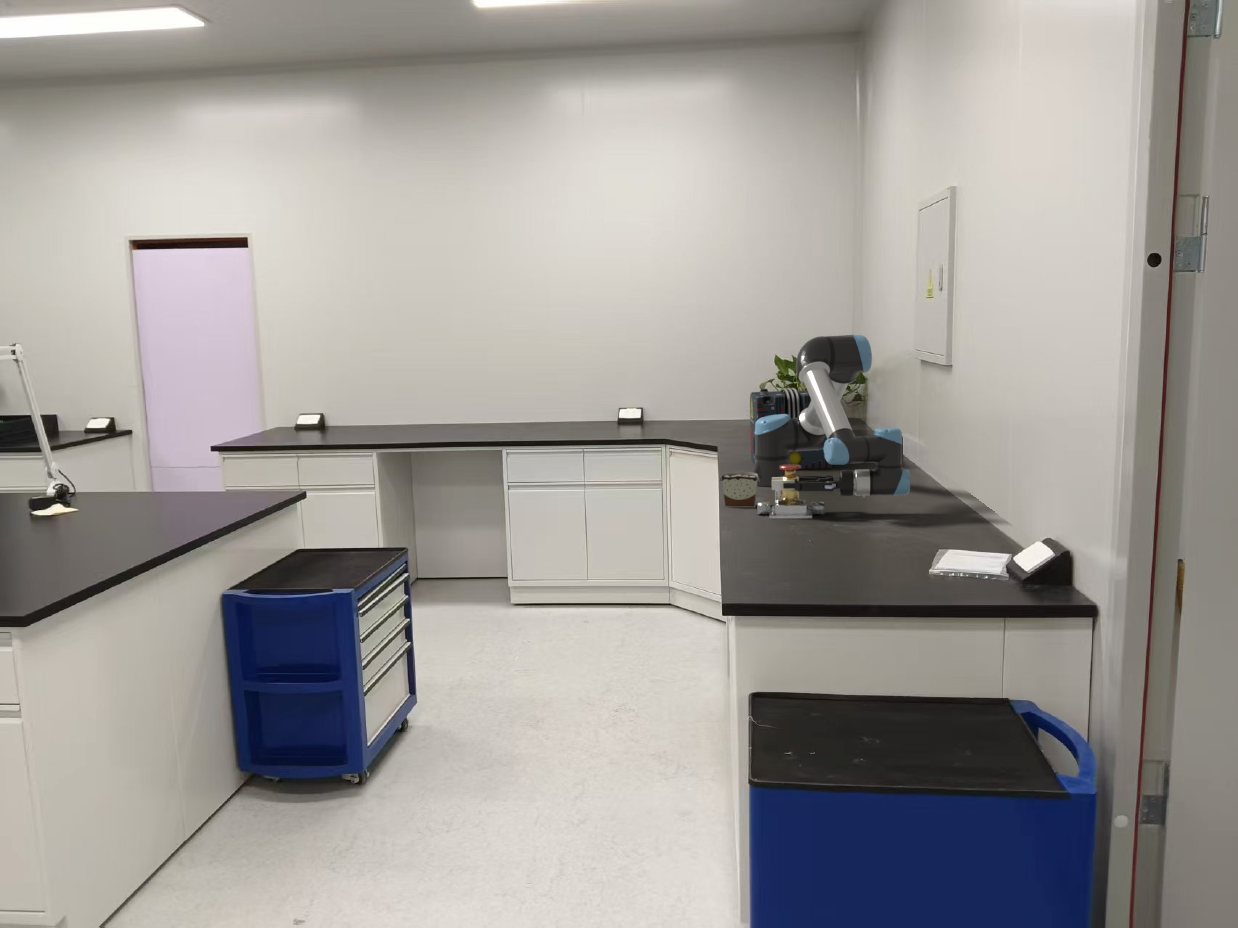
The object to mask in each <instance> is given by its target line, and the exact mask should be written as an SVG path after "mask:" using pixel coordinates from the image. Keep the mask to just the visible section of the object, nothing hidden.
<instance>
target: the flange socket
mask: <svg viewBox="0 0 1238 928" xmlns="http://www.w3.org/2000/svg"><path fill="white" fill-rule="evenodd" d="M756 505H757V506H756V508H757V509H756V513H757V515H769V516H768V517H769V519H774V520H775V519H813V515H825V501H811V506H810V505H807V500H806V499H799V505H782V500H774V505H772V506H771V502H770V501H758V502H756Z"/></svg>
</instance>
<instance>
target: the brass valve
mask: <svg viewBox="0 0 1238 928" xmlns="http://www.w3.org/2000/svg"><path fill="white" fill-rule="evenodd" d="M780 469H781V470H785V476H782V480H794V483H795V479H797V481H799V476H800V475H796V471H797V470H798V471H799V470H802V469H801V466H800V465H796V464H786V465H780ZM799 500H800V492H799V491H797V490H782V505H799Z"/></svg>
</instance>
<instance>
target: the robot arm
mask: <svg viewBox="0 0 1238 928" xmlns="http://www.w3.org/2000/svg"><path fill="white" fill-rule="evenodd" d="M870 344H871V343H870V342H869V340H868V339H867V337H866V336H865V335H861V334H844V335H843V334H841V335H828V336H816V337H814V338H811V339H809V340H808V341H806V342H805V343H804V345H802V347H801V348H800V349H799V351H798V354H797V356H796V361H795V372H796V375H797V377H798V380H799V381H800V383H801V384H803V385H804V386H805V387H806V390H808V393H809V395H810V398H811V402H810V405H809V407H808V408H806V409H804V410H803V411H802V412H801V414H800V416H799V417H798V418H790V417H789V415H787V414H779V415H770V416H766V417H762V418H760V419H758V420H757V421H756V423H755V453H756V461H755V464H753V465H754V466H753V469H752V472H751V473H756V474H758V476H759V480H760V482H759V481H757V487H758V486H760V487H771V491H775V490H797V491H799V493H800V492H830V493H831V492H833V491H834V490H839V495H840V496H841V497H853V495H855V496H857V497H858V496H862V498H863V499H865V498H866V496H869V497H870V496H877V497H879V496H880V497H881V496H882V497H887V496H888V497H889V496H890V497H896V496H907V495H908V494H909V493H910V490H911V475H910V474H911V473H910V471H909V469H906V468H903V467H904V466H903V464H902V463H903V462H902V461H903V435H902V434H903V433H902V431H901V429H900V428H897V427H890V426H889V427H884V426H883V427H878V428H876V429H875V430H874V434H873V435H867V436H866V435H862V436H856V435H855V433H854V431H853V428H852V426H851V423H850V422H849V419H848V416H847V415H846V412H845V409H844V407H843V405H842V403H841V400H842V398H843V395H844V394H845V392H846V390H847V387H848V386H849V384H851V383H853V382H855V381H856V380H857V378H858V376H859V374H860V373H863V374H865V373H867V372H869V371H870V369H871V368H872V362H873V355H872V349H871V348H872V347H871V345H870ZM822 449H824V454H825V455H824V456H825V459H826V461H827V462H828V463H829V464H832V465H835V466H837V465H839V466H841V465H842V466H844V465H849V464H850V465H852V464H863V463H864V464H866V463H867V464H868V463H874V469H869V468H867V469H855V470H852V469H841V470H840V471H839V473H838V474H839V477H835V476H833V475H831V474H827V475H826V474H825V475H824V474H823V475H798V476H799V481H797V479H795V483H794V480H782V476H785V470H781V469H780V465H786V464H791V463H790V452H794V451H812V450H816V451H818V450H822Z"/></svg>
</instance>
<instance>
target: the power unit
mask: <svg viewBox="0 0 1238 928" xmlns="http://www.w3.org/2000/svg"><path fill="white" fill-rule="evenodd" d="M749 395H750V396H749V414H750V415H749V416H750V417H749V420H750V426H749V427H750V459H751V461H752V463H753V465H755V461H756V453H755V423H756V421H757V420H758V419H760V418H762V417H766V416H770V415H779V414H787V415H789V417H790V418H798V417H799V416H800V414H801V412H802V411H803V410H804V409H806V408H808V407H809V405H810V402H811V398H810V395H809V393H808V390H807V389H805V390H804V389H803V390H797V389H796V388H794V387H791V388H789V387H787V388H781V390H780V391H777V390H776V391H769V390H768V388H761V389H760V391H752V392H750V394H749ZM824 455H825V454H824V449H822V450H818V451H816V450H812V451H794V452H790V463H791V464H796V465H800V466H801V469H800V470H815V469H817V470H819V469H820V470H821V469H832V468H833V464H829V463H828V462H827V461H826V459H825V456H824Z"/></svg>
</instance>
